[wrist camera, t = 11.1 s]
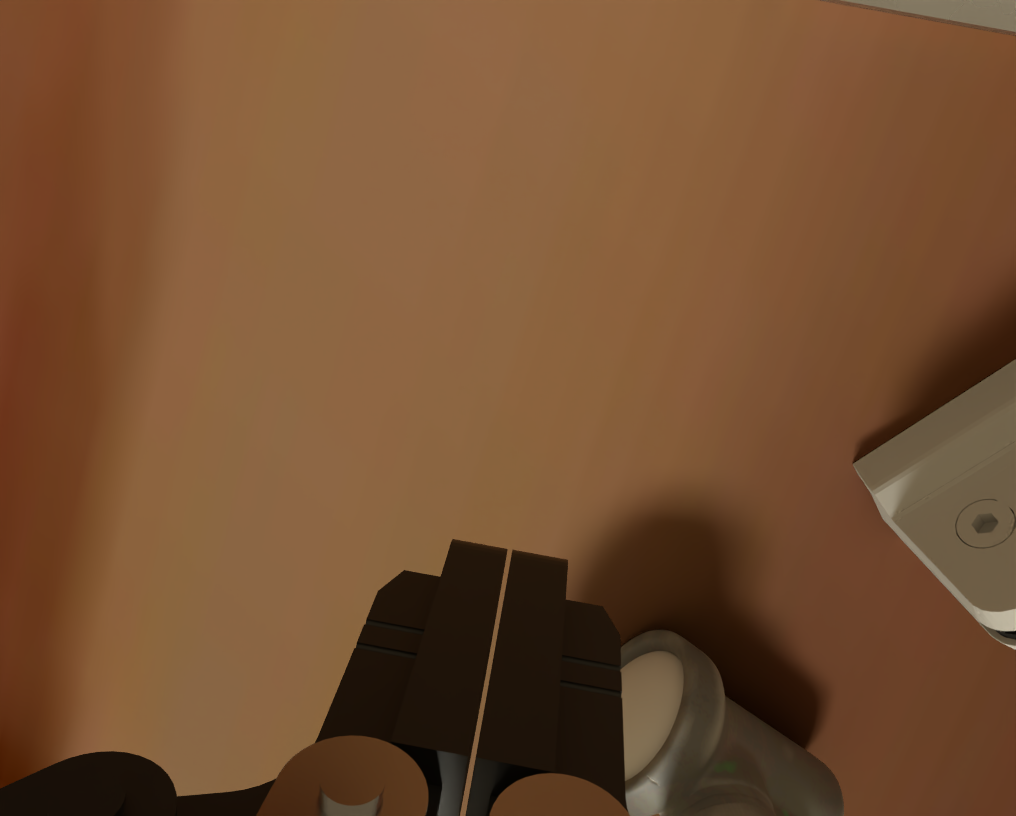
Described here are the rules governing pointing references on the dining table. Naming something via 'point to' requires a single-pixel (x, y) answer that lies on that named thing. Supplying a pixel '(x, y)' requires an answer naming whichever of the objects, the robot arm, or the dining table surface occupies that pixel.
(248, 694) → the dining table surface
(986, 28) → the grey piece
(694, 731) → the pipe fitting
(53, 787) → the robot arm
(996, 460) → the hinge
